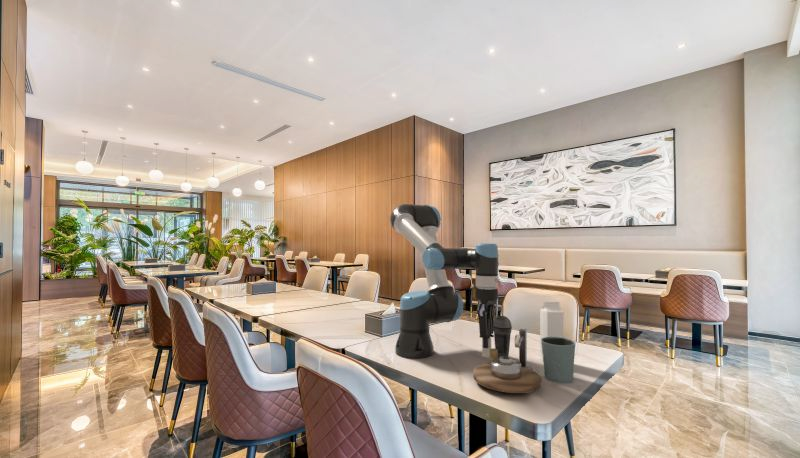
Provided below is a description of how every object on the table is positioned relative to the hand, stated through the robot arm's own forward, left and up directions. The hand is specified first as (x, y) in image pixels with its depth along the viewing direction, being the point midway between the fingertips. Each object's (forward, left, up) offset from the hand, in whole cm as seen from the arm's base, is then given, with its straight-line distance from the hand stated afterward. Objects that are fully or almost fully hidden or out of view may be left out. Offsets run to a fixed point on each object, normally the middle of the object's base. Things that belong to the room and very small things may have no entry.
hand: (486, 356), depth 122 cm
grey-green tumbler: (+22, +5, -5) cm, 23 cm away
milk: (+18, +20, -5) cm, 27 cm away
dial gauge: (+11, +1, -4) cm, 12 cm away
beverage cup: (+1, +16, -5) cm, 17 cm away
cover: (+9, -9, -1) cm, 13 cm away
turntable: (+9, -9, -3) cm, 13 cm away
